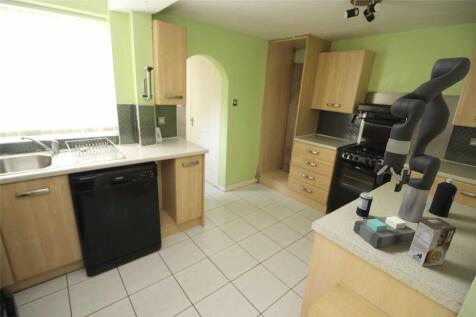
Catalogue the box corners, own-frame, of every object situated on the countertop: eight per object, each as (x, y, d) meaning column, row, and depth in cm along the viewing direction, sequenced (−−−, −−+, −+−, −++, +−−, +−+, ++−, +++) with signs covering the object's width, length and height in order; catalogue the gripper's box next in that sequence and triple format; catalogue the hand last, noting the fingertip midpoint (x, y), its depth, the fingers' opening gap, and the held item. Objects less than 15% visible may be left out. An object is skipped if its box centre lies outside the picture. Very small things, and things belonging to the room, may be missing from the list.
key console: (388, 225, 107) (391, 216, 105) (413, 241, 96) (416, 231, 94) (353, 230, 101) (355, 221, 100) (375, 248, 90) (378, 237, 89)
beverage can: (369, 219, 111) (375, 197, 108) (357, 217, 112) (362, 196, 109) (365, 213, 116) (371, 192, 113) (354, 212, 117) (359, 191, 114)
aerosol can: (431, 215, 119) (443, 180, 113) (425, 208, 126) (437, 175, 120) (450, 219, 116) (464, 183, 110) (444, 211, 123) (456, 177, 117)
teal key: (374, 227, 99) (376, 218, 98) (384, 234, 95) (386, 225, 93) (365, 228, 98) (367, 219, 97) (374, 235, 93) (377, 226, 92)
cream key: (392, 224, 102) (395, 216, 101) (403, 231, 98) (405, 222, 96) (384, 226, 101) (386, 217, 99) (394, 232, 96) (396, 223, 95)
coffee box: (426, 253, 89) (439, 217, 85) (442, 265, 83) (458, 227, 78) (406, 254, 88) (418, 218, 83) (422, 267, 82) (436, 229, 77)
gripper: (422, 155, 84) (410, 194, 89) (388, 145, 97) (380, 180, 102) (406, 156, 82) (395, 196, 87) (374, 146, 95) (366, 181, 100)
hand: (387, 187), depth 95 cm, fingers open, 8 cm apart
